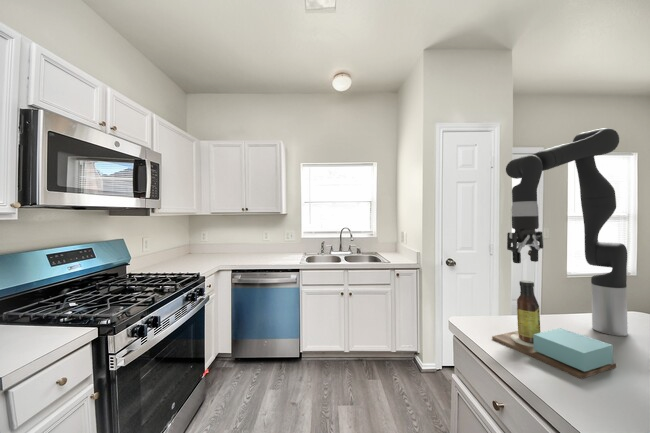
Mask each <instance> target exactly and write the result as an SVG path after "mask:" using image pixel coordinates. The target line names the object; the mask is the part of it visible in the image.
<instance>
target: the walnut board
mask: <svg viewBox="0 0 650 433" xmlns="http://www.w3.org/2000/svg"><path fill="white" fill-rule="evenodd" d="M491 339H492V340H493V341H496V342H498V343H500V344H502V345H504V346H506V347H508V348H511V349H513V350H516V351H518V352H520V353H523V354H525V355H527V356H529V357H531V358H534V359H536V360H537V361H540V362H542V363H545V364H547V365H549V366H551V367H554V368H556V369H557V370H561V371H562V372H565V373H567V374H569V375H572V376H573V377H576V378H578V379H584V378H585V379H586V378H587V377H591V376H593V375H596V374H599V373H603V372H605V371H608V370H611V369H614V368H617V363H615V362H613V363H611V364H607V365H604V366H601V367H598V368H595V369H592V370H589V371H586V372H584V371H581V370H579V369H577V368H574V367H572V366H570V365H567V364H565V363H563V362H560V361H558V360H556V359H553V358H551V357H548V356H546V355H544V354H541V353H539V352H537V351H534V343H529V342H526V341H523V340H521V339H520V338H519V334H518V330H515V331H512V332H506V333H501V334H497V335H496V334H495V335H492V337H491Z"/></svg>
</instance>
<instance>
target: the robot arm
mask: <svg viewBox="0 0 650 433" xmlns="http://www.w3.org/2000/svg"><path fill="white" fill-rule="evenodd" d="M619 143H620V136H619V133H618V132H617V130H615V129H613V128H609V127H607V128H606V127H603V128H599V129H598V128H597V129H593V130H589V131H584V132H580V133H578V134H576V135H575V136H574V137H573V139H572V142H569V143H567V142H566V143H563V144H560V145H559V144H558V145H555V146H553V147H549V148H545V149H543V150H539V151H537V152H535V153H532V154H529V155H525V156H520V157H518V158H514V159H511V160H510V161H509V162H508V163H507V165H506V166H505V173H506V175H507V176H509V177H510V178H512V179H514V180H516V179H520V181H519V183H518V184H516V185H514V186H513V187H512V188H511V209H510V210H511V213H510V214H511V229H513V230H514V232H507V233H506V236H507V238H506V239H507V240H506V241H507V242H506V249H507V251H511V253H512V262H513V263H514V264H521V263H522V256H521V255H522V254H521V251H522V249H523V248H524V247H525V246H527V247H528V248H529V256H530V257H529V258H530V259H529V260H530V261H531V262H534V263H536V262H539V251H540V250H542V249H544V236H543V231H538V229H539V227H540V224H539V218H540V217H539V204H538V187H539V184H540V182H541V181H540V180H541V176H542V173H543V172H544V171H548V170H552V169H555V168H557V167H560V166H564V165H565V164H569V163H571V162H574V163H575V167H576V172H577V176H578V183H579V195H580V204H581V206H580V207H581V212H582V219H583V225H584V226H583V230H584V231H583V232H584V257H585V261H586V263H587V264H588V265H590V266H593V267H594V266H595V267H602V268H612V269H611V271H610V272H607V273H603V274H597V275H592V276H591V278H590V282H591V284H590V288H591V289H590V290H591V291H590V292H591V321H592V322H591V325H592V326H591V327H592V329H593V330H595V331H597V332H599V333H602V334H604V335H605V334H606V335H610V336H617V337H618V336H619V337H624V336H625V337H626V336H629V333H628V332H629V330H628V327H629V326H628V324H629V323H628V292H627V291H628V289H627V288H628V287H627V285H628V284H627V276H628V274H627V272H628V270H627V268H628V267H627V266H628V249H627V247H626V245H625V244H623V243H620V242H619V243H618V242H605V241H604V242H603V241H599V234H600V231H601V229H602V228H603V226H605V224H606V222H608V220H609V219H610V218H611V217H612V215H613V214H614V213H615V211H616V209H617V199H616V198H617V196H616V191H615V188H614V187H613V185H612V184H611V182H610V181H608V180H607V178H606V177H604V176H605V175H603V174H602V173H601V172H600V171H599V169H598V168H597V163H596V160H595V157H596V156H597V157H598V156H603V155H607V154H609V153H612V152H613V151H615V150H616V148H618V146H619Z"/></svg>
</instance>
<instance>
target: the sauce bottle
mask: <svg viewBox="0 0 650 433" xmlns="http://www.w3.org/2000/svg"><path fill="white" fill-rule="evenodd" d="M518 283H519V288H520V295H519V296H518V298H517V300H516V304H517V305H516V306H517V307H516V317H517V331H518V334H519V338H520V339H521V340H523V341H526V342H529V343H534V339H533V334H537V333H541V315H540V305H539V303H538V301H537V298H536V296H535V292H534V290H535V289H534V287H535V282H534V281H531V280H519V282H518Z"/></svg>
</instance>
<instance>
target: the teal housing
mask: <svg viewBox="0 0 650 433" xmlns="http://www.w3.org/2000/svg"><path fill="white" fill-rule="evenodd" d="M533 339H534V351H537V352H539V353H541V354H544V355H546V356H548V357H551V358H553V359H556V360H558V361H560V362H563V363H565V364H567V365H570V366H572V367H574V368H577V369H579V370H581V371H584V372H586V371H589V370H592V369H595V368H598V367H601V366H604V365H607V364H611V363H614V348H613V347H614V345H613V344H610V343H607V342H606V341H605V342H604V341H602V340H599V339H595V338H592V337H589V336H586V335H583V334H579V333H576V332H574V331H570V330H568V329H565V328H562V327H561V328H560V327H559V328H555V329H550V330H546V331H542V332H541V331H540V333H537V334H533Z"/></svg>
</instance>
